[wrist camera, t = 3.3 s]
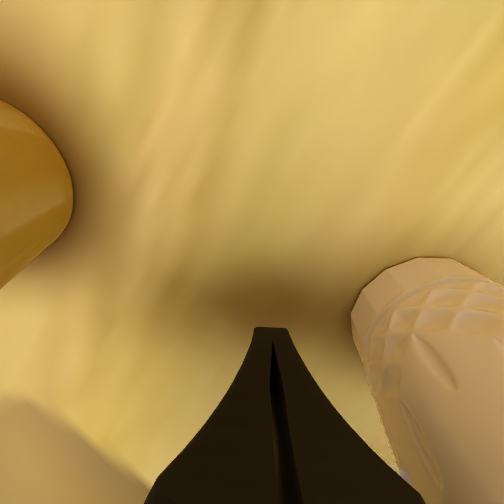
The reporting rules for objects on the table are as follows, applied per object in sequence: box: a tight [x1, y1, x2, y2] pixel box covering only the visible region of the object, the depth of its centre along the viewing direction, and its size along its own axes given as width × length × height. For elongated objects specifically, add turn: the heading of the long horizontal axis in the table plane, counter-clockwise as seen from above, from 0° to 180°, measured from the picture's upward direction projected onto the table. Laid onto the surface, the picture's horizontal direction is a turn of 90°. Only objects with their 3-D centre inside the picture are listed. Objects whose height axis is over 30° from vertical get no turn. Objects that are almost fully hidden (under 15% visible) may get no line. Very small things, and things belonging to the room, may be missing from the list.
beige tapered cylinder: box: [351, 258, 504, 504], centre depth 10 cm, size 8×8×10 cm
